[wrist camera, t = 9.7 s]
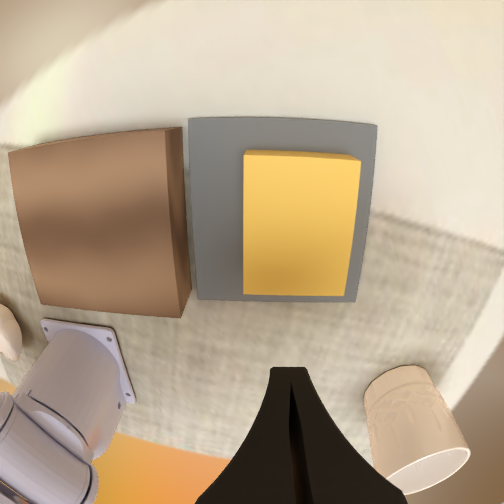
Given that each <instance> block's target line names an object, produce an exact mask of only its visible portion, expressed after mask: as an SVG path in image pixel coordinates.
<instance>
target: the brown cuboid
mask: <svg viewBox="0 0 504 504" xmlns="http://www.w3.org/2000/svg"><path fill="white" fill-rule="evenodd" d="M8 156H9V165H10V173H11V181H12V187H13V194H14V199H15V205H16V211H17V216H18V221H19V225H20V230H21V234H22V239H23V243H24V247H25V251H26V255H27V259H28V263H29V266H30V270H31V273H32V277H33V280H34V283H35V287H36V290H37V293H38V296H39V299H40V302H41V304H44V305H51V306H58V307H66V308H75V309H83V310H92V311H101V312H111V313H121V314H132V315H144V316H157V317H171V318H181V316H182V313H183V311H184V308H185V305H186V303H187V300H188V298H189V295H190V292H191V290H192V287H191V276H190V264H189V252H188V239H187V225H186V209H185V191H184V170H183V143H182V127H173V128H158V129H146V130H135V131H125V132H115V133H107V134H99V135H91V136H84V137H78V138H71V139H65V140H59V141H53V142H48V143H42V144H38V145H34V146H30V147H26V148H23V149H19V150H16V151H12V152H9V153H8Z"/></svg>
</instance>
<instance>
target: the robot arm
mask: <svg viewBox="0 0 504 504" xmlns="http://www.w3.org/2000/svg"><path fill="white" fill-rule="evenodd" d="M40 323H41V326H42V329H43V331H44V334H45V336H46V339H47V341H48V345H47V346H46V348H45V349H44V350H43V352H42V353H41V354H40V356H39V357H38V359H37V360H36V361H35V363H34V364H33V365H32V367H31V368H30V370H29V371H28V373H27V374H26V375H25V377H24V378H23V380H22V381H21V383H20V384H19V386H18V387H17V388H16V390H15V391H14V393H13V395H10V394H9V393H8V392H0V481H2V482H3V483H4V484H6V485H7V486H8V487H10V488H11V489H13V490H14V491H15V492H17V493H18V494H20V495H21V496H22V497H24V498H26V499H27V500H25V499H24V498H22V497H20V496H19V495H18V494H17V493H15V492H14V491H12V490H11V489H10V488H8V487H7V486H6V485H4V484H3V483H2V482H0V504H93V503H94V502H95V500H96V497H97V493H98V482H99V481H98V473H97V470H96V469H95V467H94V466H93V465H92V464H91V462H92V460H94V459H96V458H98V457H99V456H101V455H102V454H103V453H104V452H105V451H106V450H107V449H108V447H109V445H110V443H111V440H112V438H113V435H114V433H115V430H116V428H117V425H118V422H119V420H120V417H121V415H122V412H123V410H124V407H125V405H126V403H130V404H134V403H135V402H136V398H135V395H134V392H133V389H132V386H131V384H130V381H129V378H128V375H127V372H126V369H125V365H124V362H123V359H122V356H121V353H120V349H119V346H118V343H117V339H116V336H115V333H114V331H113V330H112V329H111V328H108V327H99V326H92V325H84V324H77V323H70V322H63V321H57V320H50V319H42V320H41V322H40ZM109 337H110V338H111V339H110V338H109ZM195 504H408V503H407V501H406V498H405V496H404V494H403V492H402V490H400V489H399V488H398V487H396V486H395V485H393V484H392V483H391V482H389V481H388V480H387V479H386V478H384V477H383V476H382V475H381V474H380V473H378V472H377V471H376V470H375V469H374V468H373V467H372V466H371V465H370V464H369V463H368V462H367V461H366V460H365V459H364V458H363V457H362V456H361V455H360V454H359V453H358V452H357V451H356V450H355V449H354V448H353V446H352V445H351V444H350V443H349V442H348V440H347V439H346V438H345V437H344V435H343V434H342V433H341V431H340V430H339V429H338V427H337V426H336V424H335V423H334V421H333V420H332V418H331V417H330V415H329V413H328V412H327V410H326V408H325V407H324V405H323V403H322V401H321V400H320V398H319V396H318V394H317V392H316V390H315V388H314V386H313V383H312V381H311V379H310V376H309V374H308V371H307V369H306V368H305V367H272V368H271V369H270V378H269V383H268V387H267V390H266V394H265V397H264V399H263V402H262V405H261V408H260V410H259V412H258V414H257V417H256V419H255V421H254V423H253V425H252V427H251V429H250V431H249V433H248V435H247V436H246V438H245V440H244V442H243V443H242V445H241V446H240V448H239V449H238V451H237V452H236V454H235V456H234V457H233V458H232V460H231V461H230V463H229V464H228V465H227V467H226V468H225V469H224V470H223V471H222V473H221V474H220V475H219V476H218V478H217V479H216V480H215V481H214V482H213V483H212V484H211V485H210V486H209V487H208V488H207V489H206V491H205V492H204V493H203V494H202V495H201V496H200V497H199V498H198V499H197V501H196V503H195ZM501 504H504V502H503V503H501Z"/></svg>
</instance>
